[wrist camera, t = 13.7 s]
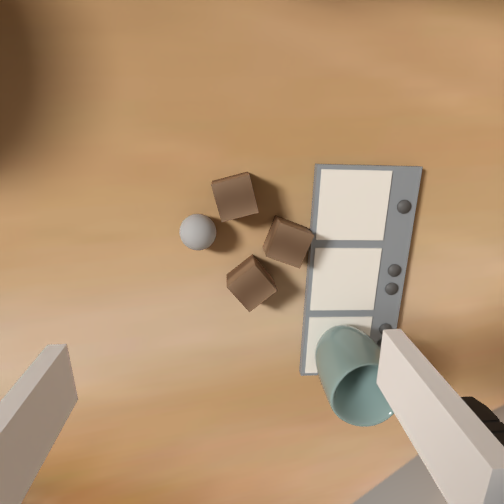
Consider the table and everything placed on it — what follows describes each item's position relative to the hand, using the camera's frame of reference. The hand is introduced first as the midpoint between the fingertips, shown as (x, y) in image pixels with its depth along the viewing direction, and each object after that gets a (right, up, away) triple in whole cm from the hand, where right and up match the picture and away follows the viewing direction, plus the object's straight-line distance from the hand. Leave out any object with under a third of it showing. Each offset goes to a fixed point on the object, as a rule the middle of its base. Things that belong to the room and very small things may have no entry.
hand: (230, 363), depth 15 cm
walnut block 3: (+5, +7, +27) cm, 29 cm away
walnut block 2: (+1, +2, +28) cm, 29 cm away
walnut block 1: (-1, +11, +25) cm, 28 cm away
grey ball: (-5, +8, +26) cm, 28 cm away
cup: (+12, -7, +31) cm, 34 cm away
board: (+14, +2, +29) cm, 32 cm away
